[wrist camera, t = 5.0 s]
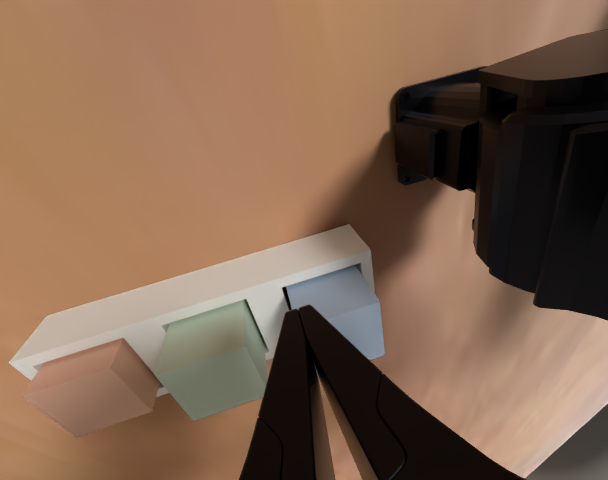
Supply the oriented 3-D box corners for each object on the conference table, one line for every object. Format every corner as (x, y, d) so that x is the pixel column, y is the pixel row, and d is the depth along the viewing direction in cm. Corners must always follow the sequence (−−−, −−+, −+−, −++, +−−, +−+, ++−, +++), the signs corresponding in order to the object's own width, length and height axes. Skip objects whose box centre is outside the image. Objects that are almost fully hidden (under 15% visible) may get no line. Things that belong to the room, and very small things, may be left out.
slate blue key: (349, 256, 20) (380, 301, 16) (356, 304, 23) (384, 355, 19) (283, 276, 20) (297, 329, 16) (298, 323, 22) (313, 379, 18)
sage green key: (242, 289, 20) (245, 346, 15) (262, 335, 22) (269, 395, 18) (172, 311, 19) (155, 375, 15) (201, 355, 22) (193, 421, 18)
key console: (349, 224, 22) (370, 249, 18) (358, 290, 26) (378, 322, 22) (46, 315, 20) (8, 362, 17) (104, 373, 24) (83, 421, 20)
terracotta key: (135, 308, 20) (110, 367, 16) (167, 350, 23) (152, 411, 19) (66, 329, 20) (20, 396, 16) (106, 370, 23) (76, 437, 18)
